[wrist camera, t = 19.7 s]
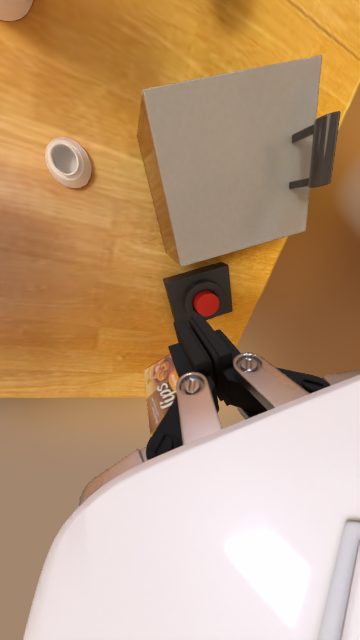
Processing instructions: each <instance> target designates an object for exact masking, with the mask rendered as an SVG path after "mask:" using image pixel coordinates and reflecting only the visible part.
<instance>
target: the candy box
mask: <svg viewBox="0 0 360 640" xmlns="http://www.w3.org/2000/svg"><path fill="white" fill-rule="evenodd" d="M144 377H145V387H146V397H147V406H148V416H149V428H150V437H151V436H152V435H153V433H154V431H155V430H156V428H157V427H158V425H159V423H160V422H161V420H162V419H163V417H164V415H165V414H166V412H167V411H168V409H169V407H170V406H171V404H172V403H173V401H174V399H175V398H176V396H177V392H176V383H177V381H178V379H179V378H178V375H177V372H176V369H175V367H174V364H173V361H172V357H171V354H170V355H168V356H167V357H165V358H163V359H162V360H160V361H158V362H157V363H155V364H153V365H152V366H150V367H148V368H147V369H145V370H144Z"/></svg>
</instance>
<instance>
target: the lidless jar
mask: <svg viewBox="0 0 360 640" xmlns="http://www.w3.org/2000/svg"><path fill="white" fill-rule="evenodd" d="M45 160H46V163H47V167H48V169H49V171H50V172H51V174H52V175H53V177H54V178H55V179H56V180H57V181H58V182H60V183H61V184H62V185H64V186H67V187H69V188H81V187H83V186H84V185H86V184H87V182H88V181H89V179H90V178H91V171H92V168H91V163H90V159H89V157H88V155H87V153H86V152H85V150H84V148H83V147H81V146H80V145H79V144H78V143H77V142H76V141H74V140H72V139H70V138H68V137H56V138H55V139H53V140H51V141H50V142H49V144H48V146H47V147H46V153H45Z"/></svg>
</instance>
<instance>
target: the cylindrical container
mask: <svg viewBox="0 0 360 640" xmlns="http://www.w3.org/2000/svg"><path fill="white" fill-rule="evenodd" d="M32 2H33V0H0V20H3V21H15V20H18V19H21V18H22V17H23V16H25V15H26V14H27V13H28V11H29V9H30V8H31V5H32Z"/></svg>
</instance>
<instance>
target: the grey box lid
mask: <svg viewBox="0 0 360 640" xmlns="http://www.w3.org/2000/svg"><path fill="white" fill-rule="evenodd" d="M321 62H322V55H320V56H315V57H310V58H304V59H299V60H294V61H289V62H284V63H278V64H273V65H268V66H263V67H257V68H252V69H247V70H242V71H236V72H231V73H226V74H221V75H216V76H210V77H205V78H200V79H195V80H189V81H184V82H179V83H174V84H168V85H163V86H158V87H153V88H147V89H143V93H142V96H143V100H144V105H145V109H146V114H147V118H148V123H149V127H150V132H151V137H152V141H153V146H154V150H155V155H156V159H157V164H158V168H159V173H160V177H161V182H162V187H163V191H164V196H165V200H166V205H167V209H168V214H169V218H170V223H171V227H172V232H173V237H174V241H175V246H176V250H177V255H178V259H179V264H180V266H181V267H183V266H186V265H190V264H193V263H197V262H200V261H204V260H207V259H211V258H214V257H217V256H221V255H224V254H228V253H231V252H235V251H238V250H242V249H245V248H249V247H252V246H255V245H259V244H262V243H266V242H269V241H273V240H276V239H280V238H283V237H286V236H290V235H293V234H296V233H300V232H303V231H305V230H306V221H307V210H308V200H309V189H310V188H314V187H319V186H324V185H327V184H330V183H331V177H332V170H333V163H334V156H335V148H336V141H337V134H338V127H339V119H340V111H336V112H332V113H329V114H327V115H324V116H322V117H319V118H318V119H316V115H317V105H318V94H319V83H320V73H321Z"/></svg>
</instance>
